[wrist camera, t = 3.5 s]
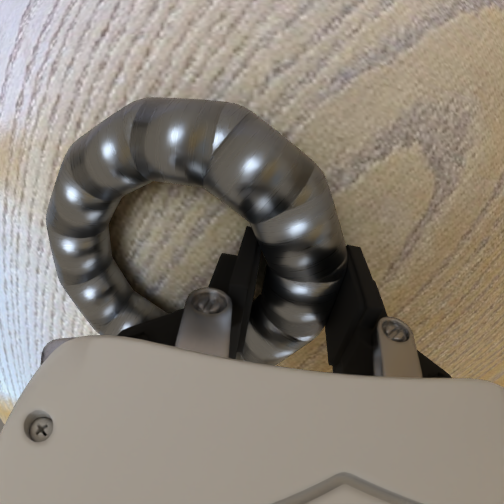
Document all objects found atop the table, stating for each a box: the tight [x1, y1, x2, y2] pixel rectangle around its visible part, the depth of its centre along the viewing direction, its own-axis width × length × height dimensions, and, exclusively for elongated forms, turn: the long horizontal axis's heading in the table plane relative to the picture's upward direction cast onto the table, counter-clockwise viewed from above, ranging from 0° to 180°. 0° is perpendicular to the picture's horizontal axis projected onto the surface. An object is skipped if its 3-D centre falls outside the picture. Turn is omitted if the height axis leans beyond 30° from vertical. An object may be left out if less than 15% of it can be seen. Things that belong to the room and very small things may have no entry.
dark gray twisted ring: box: [46, 97, 348, 366], centre depth 11 cm, size 12×12×3 cm
